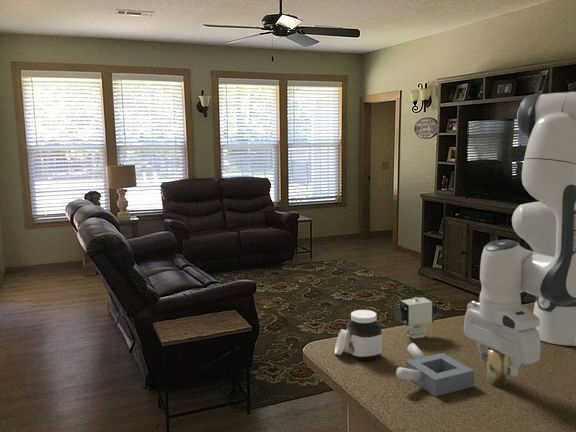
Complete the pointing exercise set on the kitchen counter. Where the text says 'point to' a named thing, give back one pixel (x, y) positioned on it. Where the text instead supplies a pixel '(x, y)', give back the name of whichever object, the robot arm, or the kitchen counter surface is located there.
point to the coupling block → (436, 372)
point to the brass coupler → (497, 368)
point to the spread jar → (361, 336)
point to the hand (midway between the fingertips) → (498, 367)
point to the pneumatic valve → (416, 315)
